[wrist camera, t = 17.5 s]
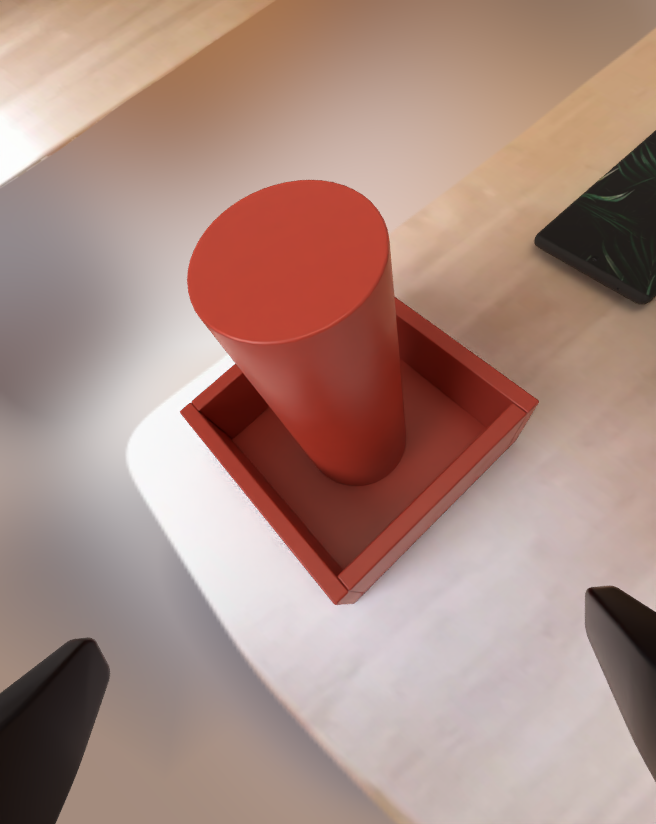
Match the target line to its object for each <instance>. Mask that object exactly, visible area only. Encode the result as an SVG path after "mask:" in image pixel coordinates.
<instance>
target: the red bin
mask: <svg viewBox="0 0 656 824" xmlns="http://www.w3.org/2000/svg"><path fill="white" fill-rule="evenodd" d="M394 299H395V311H396V322H397V334H398V345H399V357H400V368H401V380H402V391H403V403H404V415H405V426H406V446H405V450H404V453H403V456H402V458H401V460H400V462H399V463H398V465H397V466H396V467H395V468H394V470H393V471H392V472H390V473H389V474H388V475H387V476H385V477H384V478H382V479H381V480H379V481H377V482H374V483H372V484H368V485H363V486H348V485H343V484H340V483H337V482H335V481H333V480H331V479H329V478H328V477H326V476H325V475H324V474H323V473H322V472H321V471H320V470H319V469H318V468H317V466H316V465H315V464H314V463H313V461H312V460H311V459H310V458H309V456H308V455H307V454H306V452H305V451H304V450H303V449H302V447H301V446H300V445H299V444H298V442H297V441H296V440H295V438H294V437H293V436H292V435H291V433H290V432H289V431H288V430H287V428H286V427H285V426H284V424H283V423H282V422H281V421H280V419H279V418H278V417H277V416H276V414H275V413H274V412H273V410H272V409H271V408H270V407H269V405H268V404H267V403H266V401H265V400H264V399H263V398H262V396H261V395H260V394H259V393H258V391H257V390H256V389H255V387H254V386H253V385H252V384H251V382H250V381H249V380H248V379H247V377H246V376H245V375H244V373H243V372H242V371H241V370H240V368H239V367H238V366H237V365H236V364H235V365H233V366H232V367H231V368H230V369H229V370H228V371H226V372H225V373H224V374H223V375H222V376H221V377H219V378H218V379H217V380H216V381H215V382H214V383H212V384H211V385H210V386H209V387H208V388H207V389H205V390H204V391H203V392H202V393H201V394H200V395H198V396H197V397H196V398H195V399H194V400H193V401H192V403H189V404H188V405H187V406H186V407H184V408H183V409H182V410H181V411H180V413H181V415H182V416H183V417H184V418H185V420H186V421H187V422H188V423H189V425H190V426H191V427H192V428H193V429H194V431H195V432H196V433H197V434H198V436H199V437H200V438H201V439H202V441H203V442H204V443H205V444H206V446H207V447H208V448H209V449H210V451H211V452H212V453H213V454H214V456H215V457H216V458H217V459H218V461H219V462H220V463H221V464H222V466H223V467H224V468H225V469H226V470H227V472H228V473H229V474H230V475H231V477H232V478H233V479H234V480H235V482H236V483H237V484H238V485H239V487H240V488H241V489H242V490H243V492H244V493H245V494H246V495H247V497H248V498H249V499H250V500H251V502H252V503H253V504H254V505H255V507H256V508H257V509H258V510H259V512H260V513H261V514H262V515H263V516H264V518H265V519H266V520H267V521H268V523H269V524H270V525H271V526H272V528H273V529H274V530H275V531H276V533H277V534H278V535H279V536H280V538H281V539H282V540H283V541H284V543H285V544H286V545H287V546H288V548H289V549H290V550H291V551H292V553H293V554H294V555H295V556H296V557H297V559H298V560H299V561H300V562H301V564H302V565H303V566H304V567H305V569H306V570H307V571H308V572H309V574H310V575H311V576H312V577H313V579H314V580H315V581H316V582H317V584H318V585H319V586H320V587H321V589H322V590H323V591H324V592H325V594H326V595H327V596H328V597H329V599H330V600H331V601H332V602H333V603H334V604H335V605H341V604H354V603H355V602H356V601H357V600H358V599H359V598H360V597H361V596H362V595H363V594H364V593H365V592H366V591H367V590H368V589H369V588H370V587H371V586H372V585H373V584H374V583H375V582H376V581H377V580H378V579H379V578H380V577H381V576H382V575H383V574H384V573H385V572H386V571H387V570H388V569H389V568H390V567H391V566H392V565H393V564H394V563H395V562H396V561H397V560H398V559H399V558H400V557H401V556H402V555H403V554H404V553H405V552H406V551H407V550H408V549H409V548H410V547H411V546H412V545H413V544H414V543H415V542H416V541H417V540H418V539H419V538H420V537H421V536H422V535H423V534H424V533H425V532H426V531H427V530H428V529H429V528H430V526H431V525H432V524H433V523H434V522H435V521H436V520H437V519H438V518H439V517H440V516H441V515H442V514H443V513H444V512H445V511H446V510H447V509H448V508H449V507H450V506H451V505H452V504H453V503H454V502H455V501H456V500H457V499H458V498H459V497H460V496H461V495H462V494H463V493H464V492H465V491H466V490H467V489H468V488H469V487H470V486H471V485H472V484H473V483H474V482H475V481H476V480H477V479H478V478H479V477H480V476H481V475H482V474H483V473H484V472H485V471H486V470H487V469H488V468H489V467H490V466H491V465H492V464H493V463H494V462H495V461H496V460H497V459H498V458H499V457H500V456H501V455H502V454H503V453H504V452H505V451H506V450H507V449H508V448H509V447H510V446H511V445H512V444H513V443H514V442H515V441H516V439H517V438H518V436H519V434H520V433H521V431H522V429H523V428H524V426H525V425H526V423H527V421H528V420H529V418H530V416H531V415H532V413H533V411H534V410H535V408H536V406H537V405H538V403H539V401H538V400H537V399H536V398H534V397H533V396H532V395H530V394H529V393H527V392H526V391H525V390H523V389H522V388H520V387H519V386H518V385H516V384H515V383H514V382H512V381H511V380H509V379H508V378H507V377H505V376H504V375H502V374H501V373H500V372H498V371H497V370H495V369H494V368H493V367H491V366H490V365H489V364H487V363H486V362H484V361H483V360H482V359H480V358H479V357H477V356H476V355H475V354H473V353H472V352H471V351H469V350H468V349H466V348H465V347H464V346H462V345H461V344H459V343H458V342H457V341H455V340H454V339H453V338H451V337H450V336H448V335H447V334H446V333H444V332H443V331H441V330H440V329H439V328H437V327H436V326H434V325H433V324H432V323H430V322H429V321H428V320H426V319H425V318H423V317H422V316H421V315H419V314H418V313H416V312H415V311H414V310H412V309H411V308H410V307H408V306H407V305H405V304H404V303H403V302H401V301H400V300H398V299H397V298H396V297H394Z"/></svg>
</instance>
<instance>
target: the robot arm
mask: <svg viewBox="0 0 656 824" xmlns="http://www.w3.org/2000/svg"><path fill="white" fill-rule="evenodd" d="M585 628H586V632H587V636H588V639H589V641H590V644H591V646H592V648H593V650H594V653H595V655H596V657H597V659H598V662H599V664H600V666H601V669H602V671H603V673H604V675H605V678H606V680H607V682H608V684H609V687H610V689H611V691H612V693H613V696H614V698H615V700H616V703H617V705H618V707H619V709H620V712H621V714H622V716H623V718H624V721H625V723H626V725H627V727H628V730H629V732H630V734H631V736H632V738H633V740H634V743H635V745H636V747H637V748H638V750H639V752H640V754H641V756H642V758H643V760H644V762H645V764H646V765H647V767H648V769H649V771H650V773H651V774H652V776H653V778H654V780H655V782H656V612H655V611H653V610H652V609H650V608H648V607H647V606H645V605H644V604H642V603H641V602H639V601H638V600H636V599H634V598H633V597H631V596H630V595H628V594H627V593H625V592H624V591H622V590H620V589H619V588H617V587H614V586H601V587H591V588H588V589H587V590H586V593H585ZM109 677H110V669H109V665H108V663H107V661H106V659H105V657H104V655H103V654H102V652H101V650H100V648H99V646H98V644H97V642H96V641H95V640H94V639H92V638H80V639H73V640H70V641H68V642H67V643H65V644H64V645H63V646H61V647H60V648H59V649H57V650H56V651H55V652H53V653H52V654H51V655H50V656H48V657H47V658H46V659H44V660H43V661H42V662H41V663H39V664H38V665H37V666H35V667H34V668H33V669H31V670H30V671H29V672H27V673H26V674H25V675H24V676H22V677H21V678H20V679H18V680H17V681H16V682H14V683H13V684H12V685H11V686H9V687H8V688H7V689H5V690H4V691H3V692H1V693H0V824H55V823H56V821H57V819H58V816H59V814H60V812H61V810H62V807H63V805H64V803H65V800H66V798H67V796H68V793H69V791H70V789H71V786H72V784H73V781H74V779H75V776H76V774H77V771H78V769H79V766H80V763H81V760H82V757H83V755H84V752H85V749H86V746H87V743H88V740H89V737H90V734H91V731H92V729H93V726H94V723H95V720H96V717H97V714H98V711H99V708H100V705H101V702H102V699H103V697H104V694H105V691H106V688H107V685H108V682H109Z"/></svg>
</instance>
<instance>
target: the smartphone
mask: <svg viewBox="0 0 656 824" xmlns="http://www.w3.org/2000/svg"><path fill="white" fill-rule="evenodd" d="M534 243H535V245H536V246H537V247H538V248H540V249H542V250H544V251H545V252H547V253H549V254H551V255H553V256H554V257H556V258H558V259H560V260H561V261H563V262H565V263H567V264H568V265H570V266H572V267H574V268H575V269H577V270H579V271H581V272H582V273H584V274H586V275H588V276H590V277H591V278H593V279H595V280H597V281H598V282H600V283H602V284H604V285H605V286H607V287H609V288H611V289H612V290H614V291H616V292H618V293H619V294H621V295H623V296H625V297H627V298H628V299H630V300H632V301H634V302H635V303H638V304H646V303H648V302H649V301H651V300H652V299H653V298H654V297H655V296H656V131H654V132H653V133H652V134H651V135H650V136H649V137H648V138H646V139H645V140H644V141H643V142H642V143H641V144H640V145H638V146H637V147H636V148H635V149H634V150H633V151H632V152H630V153H629V154H628V155H627V156H626V157H625V158H624V159H622V160H621V161H620V162H619V163H618V164H617V165H616V166H614V167H613V168H612V169H611V170H610V171H609V172H608V173H606V174H605V175H604V176H603V177H602V178H601V179H600V180H598V181H597V182H596V183H595V184H594V185H593V186H592V187H590V188H589V189H588V190H587V191H586V192H585V193H584V194H582V195H581V196H580V197H579V198H578V199H577V200H576V201H574V202H573V203H572V204H571V205H570V206H569V207H568V208H566V209H565V210H564V211H563V212H562V213H561V214H560V215H558V216H557V217H556V218H555V219H554V220H553V221H552V222H550V223H549V224H548V225H547V226H546V227H545V228H544V229H542V230H541V231H540V232H539V233H538V234H537V235H536V237H535V241H534Z"/></svg>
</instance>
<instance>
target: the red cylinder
mask: <svg viewBox="0 0 656 824" xmlns="http://www.w3.org/2000/svg"><path fill="white" fill-rule="evenodd" d="M187 282H188V293H189V296H190V300H191V303H192V305H193V307H194V310H195V311H196V313H197V314H198V316H199V317H200V319H201V320H202V321H203V323H204V324H205V325H206V326H207V328H208V329H209V330H210V331H211V333H212V334H213V335H214V337H215V338H216V339H217V340H218V342H219V343H220V344H221V345H222V347H223V348H224V349H225V351H226V352H227V353H228V354H229V356H230V357H231V358H232V359H233V361H234V362H235V363H236V365H237V366H238V367H239V368H240V370H241V371H242V372H243V373H244V375H245V376H246V377H247V379H248V380H249V381H250V382H251V384H252V385H253V386H254V387H255V389H256V390H257V391H258V393H259V394H260V395H261V396H262V398H263V399H264V400H265V401H266V403H267V404H268V405H269V407H270V408H271V409H272V410H273V412H274V413H275V414H276V416H277V417H278V418H279V419H280V421H281V422H282V423H283V424H284V426H285V427H286V428H287V430H288V431H289V432H290V433H291V435H292V436H293V437H294V438H295V440H296V441H297V442H298V444H299V445H300V446H301V447H302V449H303V450H304V451H305V452H306V454H307V455H308V456H309V458H310V459H311V460H312V461H313V463H314V464H315V465H316V466H317V468H318V469H319V470H320V471H321V472H322V473H323V474H324V475H325V476H326V477H328V478H329V479H331V480H333V481H335V482H337V483H340V484H343V485H348V486H363V485H368V484H372V483H374V482H377V481H379V480H381V479H382V478H384V477H385V476H387V475H388V474H389V473H390V472H392V471H393V470H394V468H395V467H396V466H397V465H398V463H399V462H400V460H401V458H402V456H403V453H404V450H405V446H406V426H405V415H404V403H403V391H402V380H401V368H400V357H399V345H398V334H397V322H396V311H395V299H394V287H393V276H392V264H391V253H390V241H389V235H388V230H387V227H386V224H385V221H384V219H383V218H382V216H381V214H380V212H379V211H378V209H377V208H376V207H375V206H374V205H373V204H372V202H371V201H370V200H368V199H367V198H366V197H365V196H363V195H362V194H360V193H358V192H357V191H355V190H353V189H351V188H349V187H347V186H344V185H341V184H337V183H334V182H328V181H322V180H298V181H291V182H285V183H281V184H277V185H273V186H270V187H267V188H264V189H262V190H259V191H257V192H255V193H252V194H250V195H248V196H247V197H245V198H243V199H241V200H240V201H238V202H236V203H235V204H234V205H232V206H231V207H229V208H228V209H227V210H225V211H224V212H223V213H222V214H221V215H220V216H219V217H218V218H217V219H215V220H214V221H213V222H212V224H211V225H210V226H209V227H208V228H207V230H206V231H205V232H204V234H203V235H202V237H201V238H200V240H199V241H198V243H197V245H196V247H195V249H194V251H193V254H192V257H191V259H190V264H189V268H188V278H187Z"/></svg>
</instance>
